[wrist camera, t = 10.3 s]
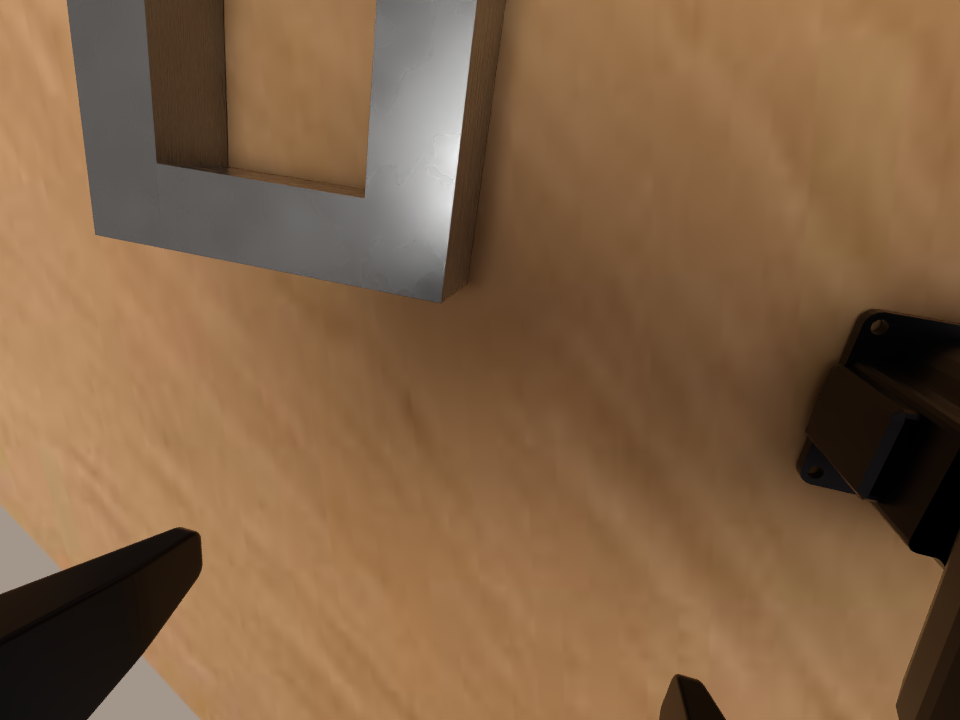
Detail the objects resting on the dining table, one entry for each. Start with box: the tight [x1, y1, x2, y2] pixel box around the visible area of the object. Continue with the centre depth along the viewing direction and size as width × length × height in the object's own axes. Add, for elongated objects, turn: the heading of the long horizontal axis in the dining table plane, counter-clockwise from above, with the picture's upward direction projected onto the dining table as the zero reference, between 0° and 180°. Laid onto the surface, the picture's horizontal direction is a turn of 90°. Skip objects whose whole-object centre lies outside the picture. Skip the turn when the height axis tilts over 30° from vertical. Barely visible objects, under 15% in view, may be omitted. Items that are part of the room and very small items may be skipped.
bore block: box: [67, 0, 506, 303], centre depth 17 cm, size 13×13×4 cm
